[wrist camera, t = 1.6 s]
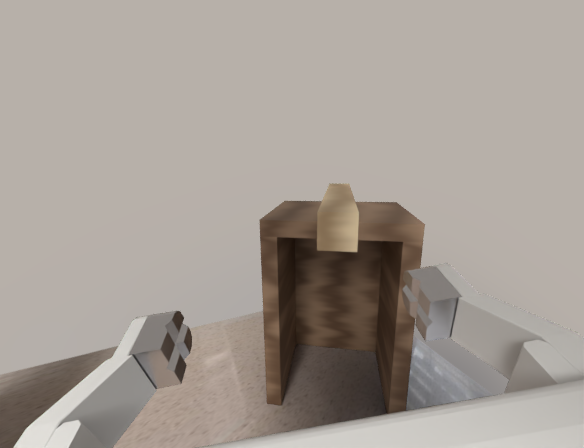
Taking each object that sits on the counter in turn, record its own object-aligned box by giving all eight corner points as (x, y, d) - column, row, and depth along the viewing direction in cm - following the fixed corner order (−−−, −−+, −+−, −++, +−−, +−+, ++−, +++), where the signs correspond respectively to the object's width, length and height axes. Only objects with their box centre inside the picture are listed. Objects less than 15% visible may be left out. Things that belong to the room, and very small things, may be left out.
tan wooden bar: (316, 250, 21) (317, 211, 20) (329, 202, 44) (329, 183, 43) (357, 252, 20) (359, 212, 20) (348, 202, 43) (349, 183, 43)
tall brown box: (267, 403, 38) (259, 219, 32) (287, 335, 52) (284, 200, 46) (404, 423, 35) (424, 224, 29) (385, 345, 49) (396, 202, 43)
